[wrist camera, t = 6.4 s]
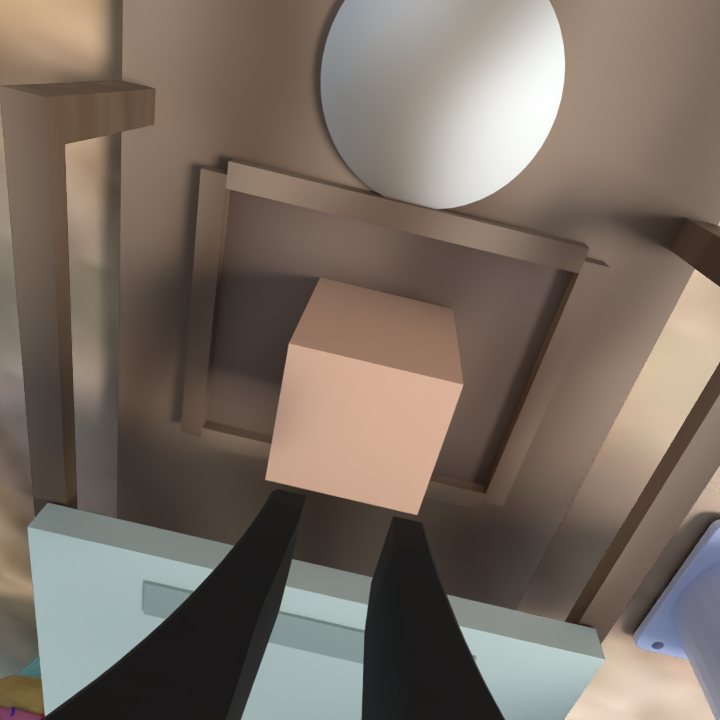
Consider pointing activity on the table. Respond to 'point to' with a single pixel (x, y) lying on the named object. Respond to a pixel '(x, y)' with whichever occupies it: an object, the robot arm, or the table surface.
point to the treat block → (366, 396)
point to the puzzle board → (386, 256)
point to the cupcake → (22, 694)
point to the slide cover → (289, 635)
